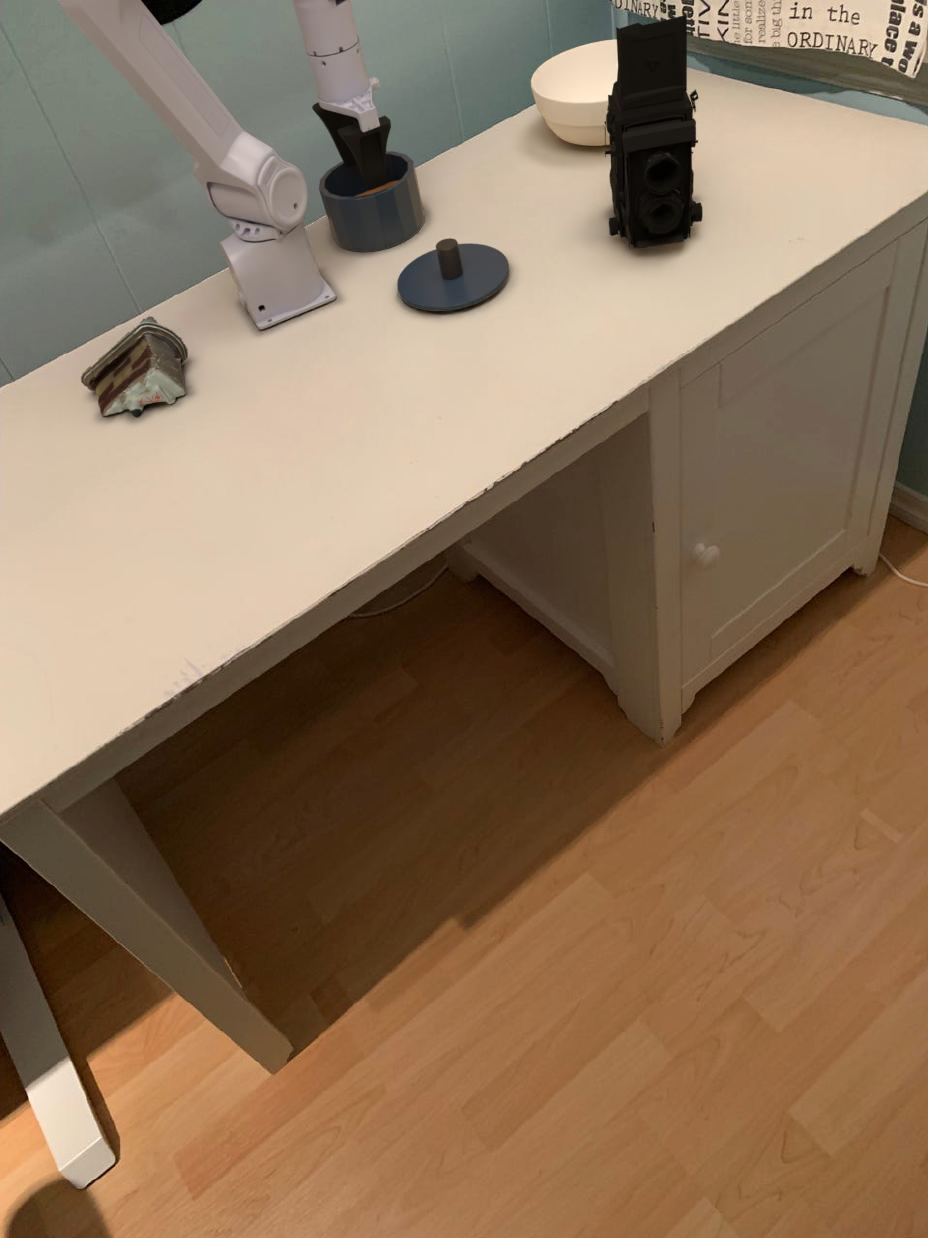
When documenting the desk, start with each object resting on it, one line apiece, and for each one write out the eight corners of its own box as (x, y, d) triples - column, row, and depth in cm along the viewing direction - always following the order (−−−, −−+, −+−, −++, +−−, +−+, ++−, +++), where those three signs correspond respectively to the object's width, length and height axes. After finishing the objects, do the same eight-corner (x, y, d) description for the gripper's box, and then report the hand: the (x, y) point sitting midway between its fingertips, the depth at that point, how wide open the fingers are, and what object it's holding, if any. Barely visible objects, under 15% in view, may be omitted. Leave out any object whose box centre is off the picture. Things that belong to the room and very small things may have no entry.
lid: (425, 330, 92) (416, 291, 89) (382, 280, 100) (372, 242, 97) (530, 285, 94) (525, 245, 91) (479, 239, 102) (473, 201, 98)
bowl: (689, 94, 116) (691, 32, 110) (666, 163, 105) (666, 98, 100) (555, 101, 121) (550, 43, 116) (520, 167, 111) (513, 106, 106)
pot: (353, 263, 104) (337, 210, 99) (322, 225, 111) (306, 174, 106) (439, 227, 105) (428, 173, 100) (403, 193, 112) (391, 141, 107)
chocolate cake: (84, 436, 92) (123, 359, 84) (75, 384, 95) (112, 305, 87) (172, 451, 98) (216, 380, 91) (161, 402, 101) (203, 329, 93)
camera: (615, 271, 93) (607, 63, 78) (602, 208, 101) (592, 9, 86) (711, 256, 92) (723, 41, 76) (690, 193, 100) (696, -12, 85)
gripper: (392, 50, 89) (419, 184, 99) (344, 16, 98) (374, 142, 108) (328, 73, 88) (363, 206, 98) (286, 37, 97) (322, 162, 107)
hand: (365, 174), depth 103 cm, fingers open, 7 cm apart
